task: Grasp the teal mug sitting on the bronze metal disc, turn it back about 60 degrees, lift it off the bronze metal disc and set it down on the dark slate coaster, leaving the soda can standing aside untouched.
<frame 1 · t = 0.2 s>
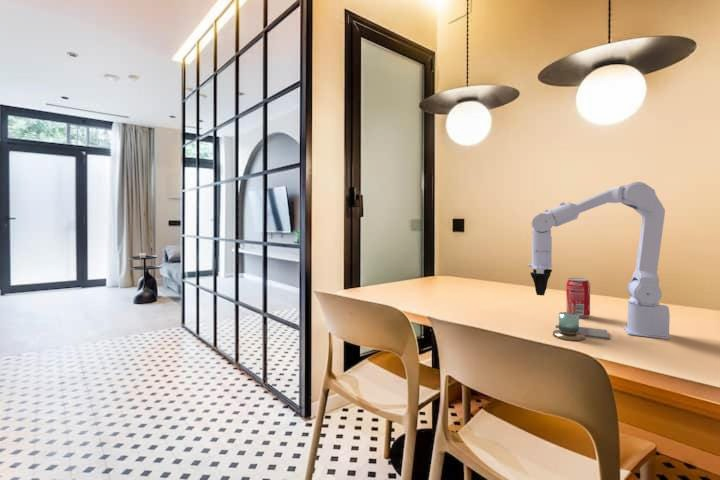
hand: (541, 292, 119), 10 cm above the table, tool pointing down, fingers open, 7 cm apart
bronze metal disc: (568, 336, 106), on the table
soda can: (577, 316, 128), on the table
coaster: (591, 333, 108), on the table
teal mug: (568, 329, 105), point 2 cm above the table, touching bronze metal disc
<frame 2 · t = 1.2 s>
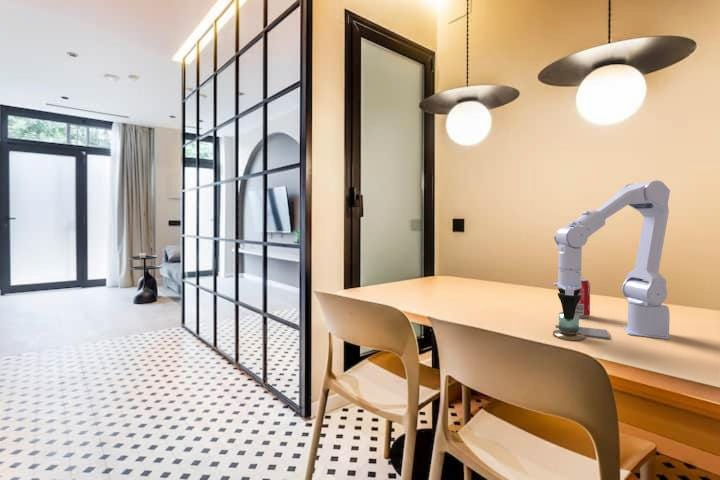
hand: (568, 315, 105), 6 cm above the table, tool pointing down, fingers open, 7 cm apart
nothing on the table moved.
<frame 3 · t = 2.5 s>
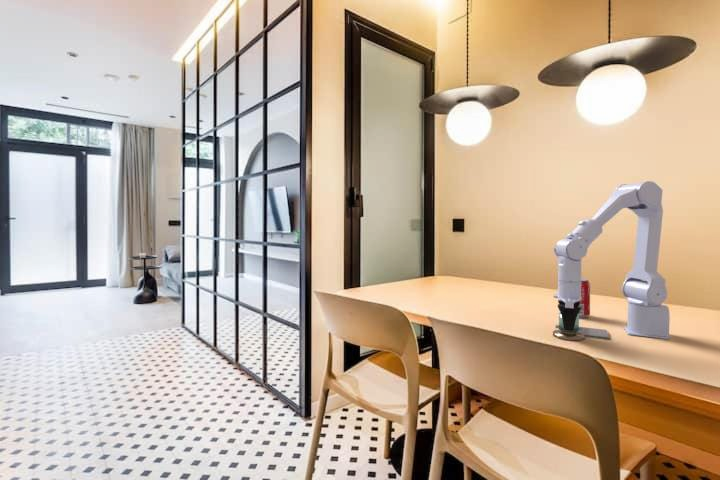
hand: (568, 327, 105), 3 cm above the table, tool pointing down, fingers closed on teal mug, 5 cm apart
teal mug: (568, 329, 105), point 2 cm above the table, touching gripper, bronze metal disc
everything else where it was.
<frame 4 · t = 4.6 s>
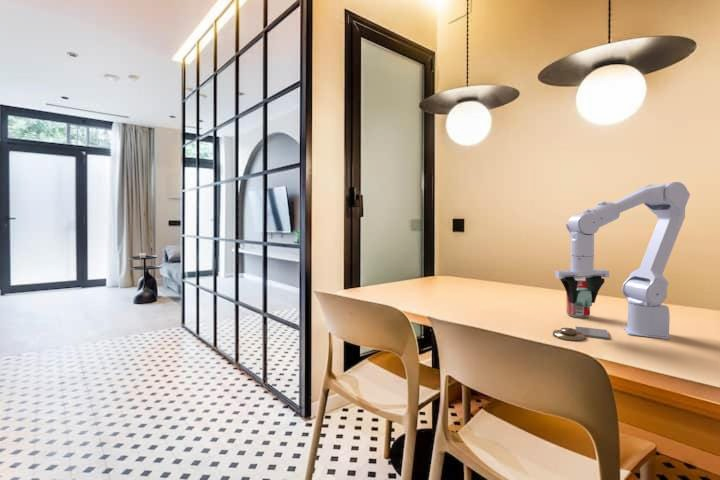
hand: (581, 302, 106), 10 cm above the table, tool pointing down, fingers closed on teal mug, 5 cm apart
teal mug: (581, 304, 106), point 9 cm above the table, touching gripper
everything else where it was.
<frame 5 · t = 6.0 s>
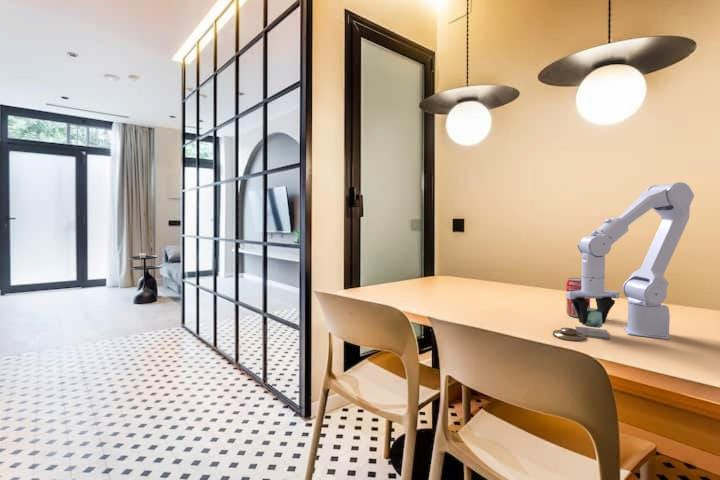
hand: (591, 322, 108), 3 cm above the table, tool pointing down, fingers closed on teal mug, 5 cm apart
teal mug: (591, 324, 108), point 3 cm above the table, touching gripper
everything else where it was.
when the fingers open (2 cm above the table, at t = 7.1 s): teal mug drops 1 cm, resting on coaster.
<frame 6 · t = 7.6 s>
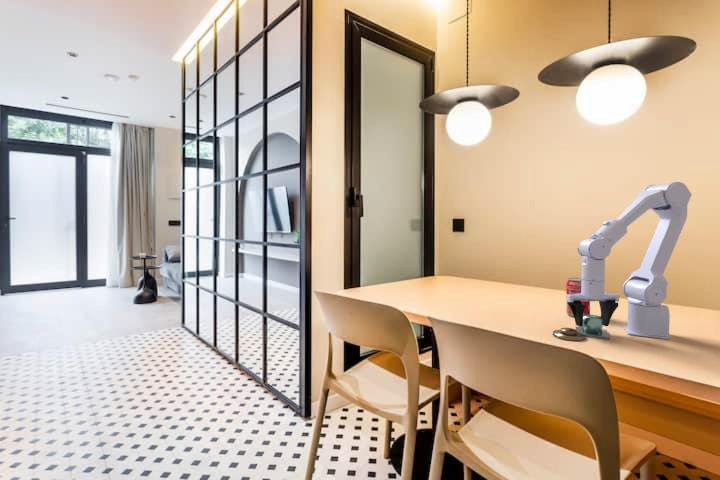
hand: (591, 325, 108), 2 cm above the table, tool pointing down, fingers open, 7 cm apart
teal mug: (591, 331, 108), point 1 cm above the table, touching coaster
everything else where it was.
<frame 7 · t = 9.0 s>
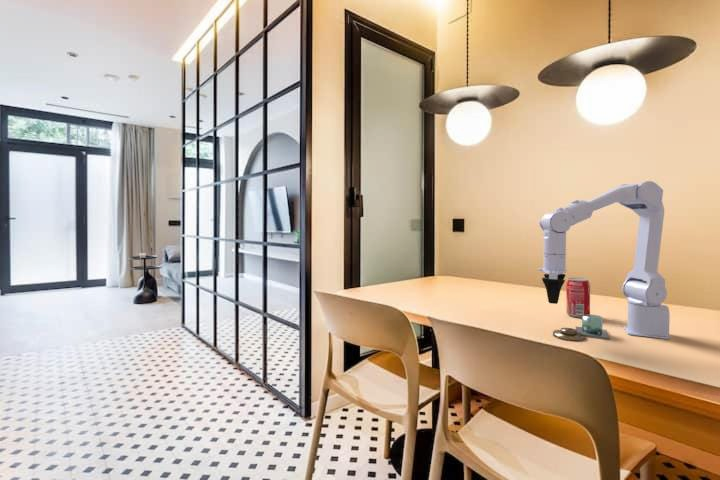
hand: (553, 300, 106), 10 cm above the table, tool pointing down, fingers open, 7 cm apart
nothing on the table moved.
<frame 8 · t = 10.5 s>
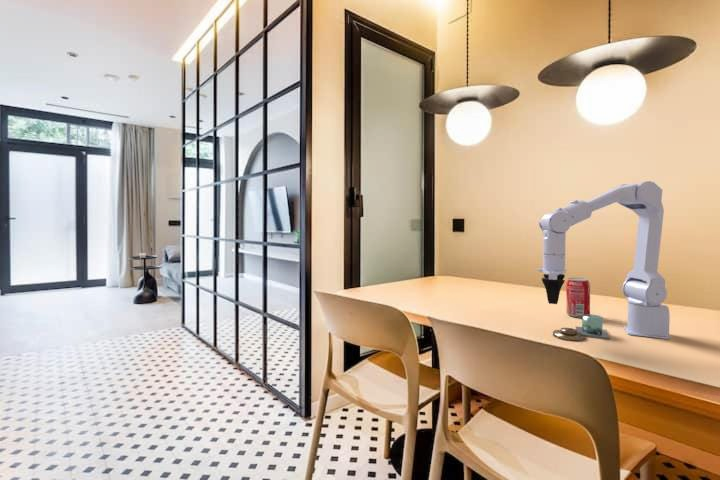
hand: (553, 300, 106), 10 cm above the table, tool pointing down, fingers open, 7 cm apart
nothing on the table moved.
at the end: teal mug inside the target area on the coaster (0.1 cm from its centre), point 0.6 cm above the coaster's base; teal mug tilted 1°; the gripper is holding nothing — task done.
